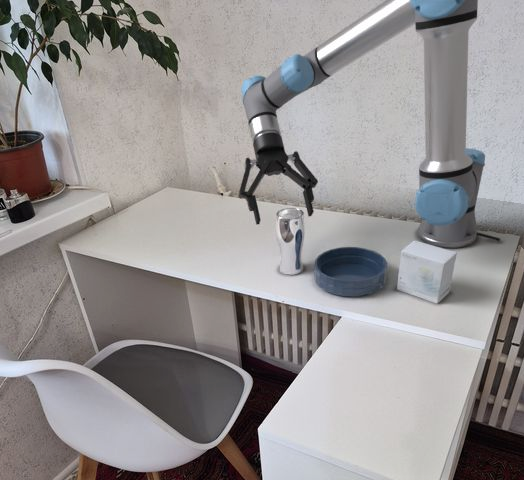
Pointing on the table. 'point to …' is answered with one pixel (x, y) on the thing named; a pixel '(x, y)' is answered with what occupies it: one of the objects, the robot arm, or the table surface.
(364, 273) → the bowl
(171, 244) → the table surface
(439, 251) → the cosmetics box
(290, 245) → the beer glass
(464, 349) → the table surface
